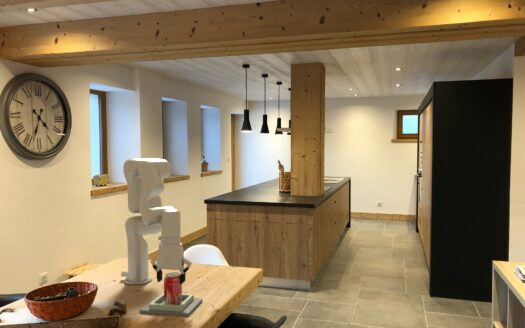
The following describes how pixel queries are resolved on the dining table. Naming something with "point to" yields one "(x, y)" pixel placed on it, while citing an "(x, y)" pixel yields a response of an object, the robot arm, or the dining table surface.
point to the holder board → (172, 306)
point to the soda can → (172, 289)
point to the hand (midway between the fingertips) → (171, 282)
